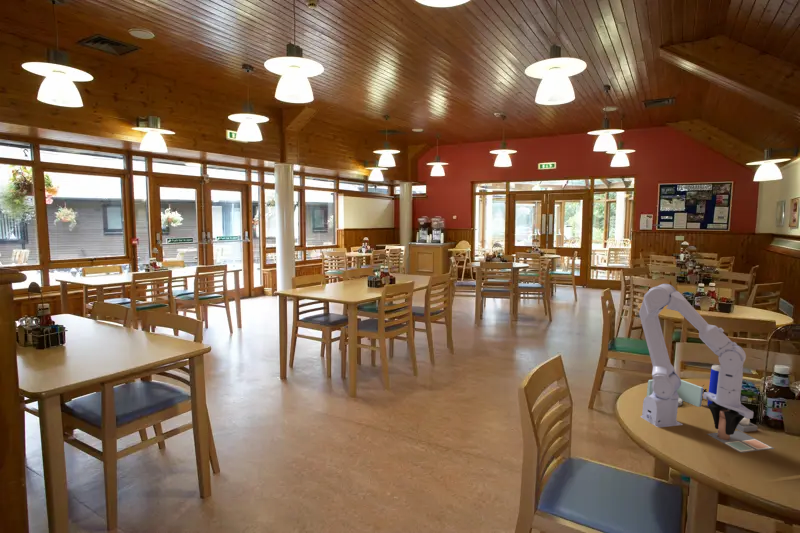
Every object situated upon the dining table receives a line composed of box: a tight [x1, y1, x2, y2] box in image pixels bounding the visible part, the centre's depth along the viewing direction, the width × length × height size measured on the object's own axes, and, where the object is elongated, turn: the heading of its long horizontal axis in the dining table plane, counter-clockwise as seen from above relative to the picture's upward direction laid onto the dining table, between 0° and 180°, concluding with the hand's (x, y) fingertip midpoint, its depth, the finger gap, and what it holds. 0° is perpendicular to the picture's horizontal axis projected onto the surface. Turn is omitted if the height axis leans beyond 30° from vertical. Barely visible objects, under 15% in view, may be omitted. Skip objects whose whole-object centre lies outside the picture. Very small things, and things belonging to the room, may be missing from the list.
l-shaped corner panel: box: [646, 378, 704, 408], centre depth 165 cm, size 12×12×8 cm
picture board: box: [706, 429, 775, 454], centre depth 138 cm, size 12×11×1 cm
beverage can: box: [707, 364, 721, 407], centre depth 160 cm, size 5×5×15 cm
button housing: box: [735, 421, 758, 433], centre depth 146 cm, size 5×5×2 cm
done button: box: [739, 418, 751, 427], centre depth 146 cm, size 3×3×2 cm
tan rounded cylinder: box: [717, 409, 730, 440], centre depth 139 cm, size 3×3×8 cm
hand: (724, 431), depth 139 cm, fingers closed on tan rounded cylinder, 3 cm apart
